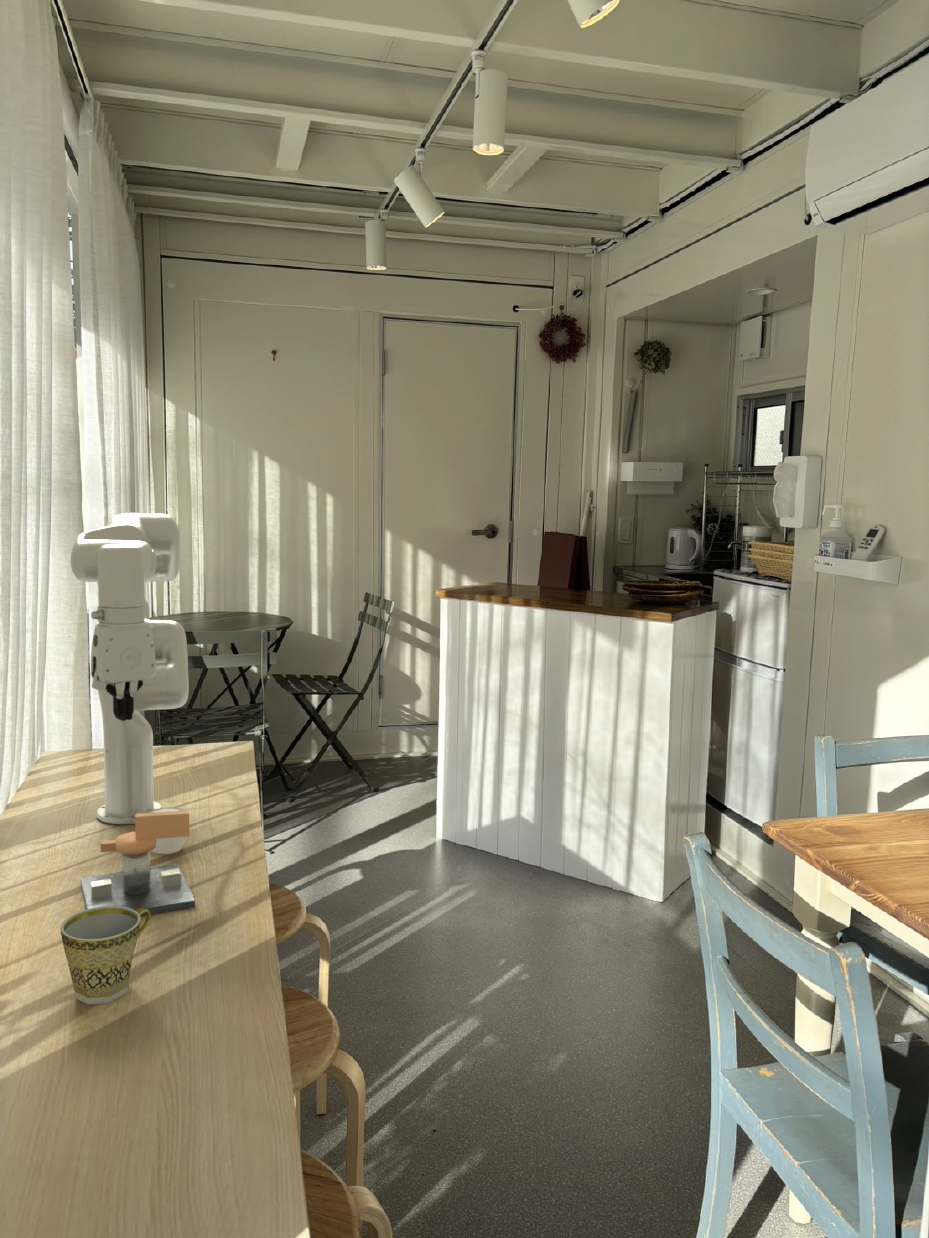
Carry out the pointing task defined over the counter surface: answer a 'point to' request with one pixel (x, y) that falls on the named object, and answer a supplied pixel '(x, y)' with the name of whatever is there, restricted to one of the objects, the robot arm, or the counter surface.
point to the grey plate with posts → (139, 887)
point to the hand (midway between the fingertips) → (123, 718)
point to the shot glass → (168, 843)
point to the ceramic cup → (101, 950)
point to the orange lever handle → (149, 832)
